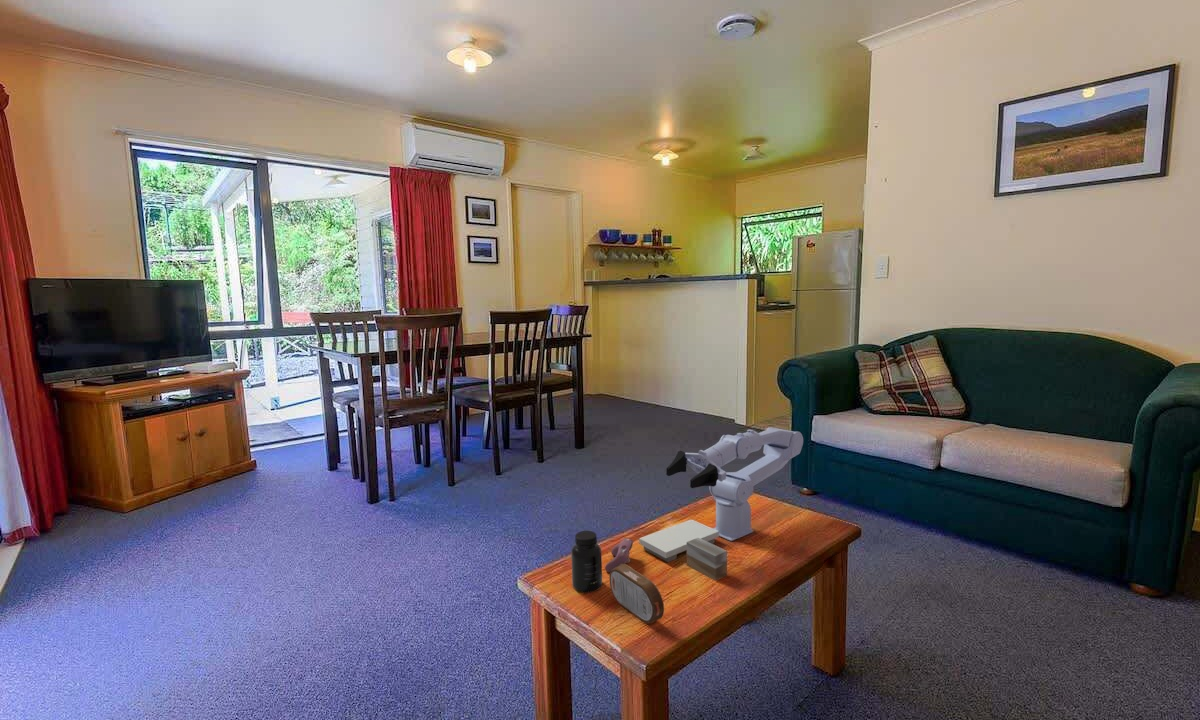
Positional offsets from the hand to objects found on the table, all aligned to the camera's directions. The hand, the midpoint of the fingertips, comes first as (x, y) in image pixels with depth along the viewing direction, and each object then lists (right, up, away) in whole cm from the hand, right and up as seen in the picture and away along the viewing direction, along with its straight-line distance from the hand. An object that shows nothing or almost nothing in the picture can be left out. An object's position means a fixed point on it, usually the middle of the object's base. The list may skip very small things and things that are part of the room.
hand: (679, 478), depth 128 cm
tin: (-12, -23, -21) cm, 33 cm away
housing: (+6, -21, -5) cm, 22 cm away
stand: (+1, -20, +8) cm, 21 cm away
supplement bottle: (-22, -22, -10) cm, 33 cm away
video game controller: (-14, -21, -1) cm, 26 cm away
